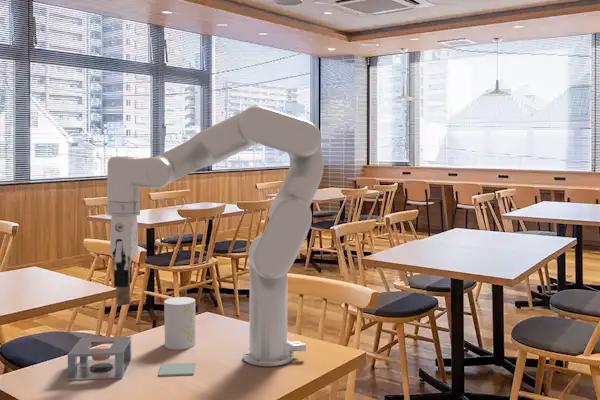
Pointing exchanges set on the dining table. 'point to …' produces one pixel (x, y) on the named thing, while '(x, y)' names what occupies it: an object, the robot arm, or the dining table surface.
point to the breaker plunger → (100, 358)
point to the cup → (179, 323)
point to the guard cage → (99, 368)
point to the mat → (177, 369)
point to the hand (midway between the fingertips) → (123, 284)
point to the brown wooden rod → (123, 290)
